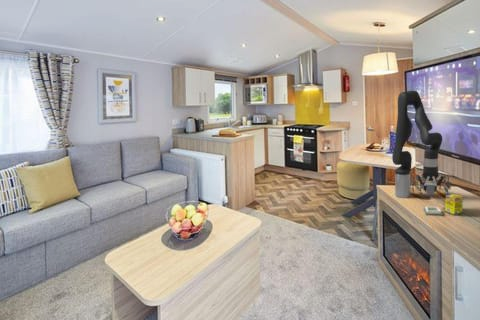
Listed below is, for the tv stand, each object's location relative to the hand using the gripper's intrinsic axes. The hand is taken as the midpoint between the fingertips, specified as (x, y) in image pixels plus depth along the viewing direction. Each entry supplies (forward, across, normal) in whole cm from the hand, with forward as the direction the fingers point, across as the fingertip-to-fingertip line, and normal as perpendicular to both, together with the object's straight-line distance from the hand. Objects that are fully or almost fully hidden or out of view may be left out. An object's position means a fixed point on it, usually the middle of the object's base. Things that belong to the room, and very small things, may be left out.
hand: (429, 190), depth 168 cm
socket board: (+12, -1, +8) cm, 14 cm away
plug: (+2, 0, 0) cm, 2 cm away
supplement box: (+12, -11, +6) cm, 17 cm away
